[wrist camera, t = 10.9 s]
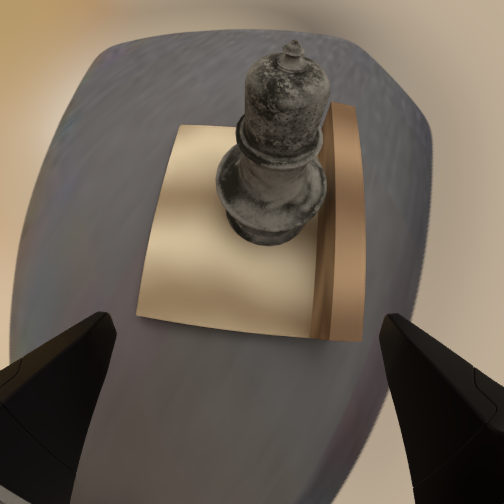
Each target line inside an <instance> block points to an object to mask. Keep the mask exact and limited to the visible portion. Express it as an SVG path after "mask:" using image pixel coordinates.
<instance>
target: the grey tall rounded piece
mask: <svg viewBox="0 0 504 504" xmlns="http://www.w3.org/2000/svg"><path fill="white" fill-rule="evenodd" d="M282 51H283V52H284V53H276V54H271V55H268V56H265V57H263V58H261V59H260V60H258V61H257V62H256V63H255V64H253V65H252V67H251V68H250V69H249V71H248V74H247V77H246V81H245V114H244V115H243V116H242V117H241V118H240V120H239V122H238V123H237V127H236V131H235V135H236V142H237V144H236V145H234V146H233V147H232V148H231V149H230V150H229V151H228V152H227V153H226V154H225V155H224V156H223V158H222V160H221V161H220V163H219V165H218V168H217V173H216V178H215V180H216V190H217V194H218V196H219V199H220V201H221V203H222V205H223V206H224V208H225V209H226V216H227V219H228V221H229V223H230V226H231V227H232V228H233V229H234V231H235V232H236V233H237V234H238V235H239V236H240V237H242V238H243V239H245V240H246V241H248V242H251V243H253V244H256V245H261V246H275V245H281V244H283V243H286V242H288V241H290V240H292V239H293V238H294V237H295V236H297V235H298V234H299V233H300V231H301V230H302V229H303V227H304V226H305V223H306V222H308V221H309V220H310V219H312V218H313V217H314V216H315V215H316V214H317V212H318V211H319V209H320V208H321V207H322V205H323V202H324V199H325V196H326V193H327V179H326V176H325V173H324V169H323V167H322V165H321V164H320V162H319V160H318V159H317V157H316V156H317V155H318V154H319V152H320V150H321V147H322V144H323V134H322V131H321V128H320V125H319V124H320V121H321V118H322V115H323V112H324V109H325V106H326V103H327V100H328V97H329V94H330V86H329V80H328V78H327V75H326V74H325V72H324V70H323V69H322V68H321V67H320V66H319V65H318V64H317V63H315V62H314V61H313V60H311V59H309V58H306V57H304V56H302V55H304V54H305V50H304V49H303V48H302V47H301V45H300V44H299V43H298V41H297V40H292V42H289V43H288V44H287V45H285V46H283V47H282Z"/></svg>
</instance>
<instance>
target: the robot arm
mask: <svg viewBox="0 0 504 504" xmlns="http://www.w3.org/2000/svg"><path fill="white" fill-rule="evenodd" d="M116 336H117V333H116V329H115V326H114V324H113V321H112V318H111V316H110V314H109V313H107V312H100V311H99V312H96V313H94V314H93V315H91V316H89V317H88V318H86V319H84V320H83V321H81V322H79V323H78V324H76V325H74V326H73V327H71V328H69V329H68V330H66V331H64V332H63V333H61V334H59V335H58V336H56V337H54V338H53V339H51V340H49V341H48V342H46V343H45V344H43V345H41V346H40V347H38V348H36V349H35V350H33V351H32V352H30V353H28V354H27V355H25V356H24V357H23V358H20V359H19V360H17V361H16V362H14V363H12V364H11V365H9V366H7V367H6V368H4V369H3V370H0V504H70V499H71V494H72V490H73V485H74V481H75V477H76V472H77V468H78V464H79V460H80V456H81V453H82V449H83V445H84V442H85V438H86V435H87V432H88V428H89V425H90V422H91V419H92V415H93V412H94V409H95V406H96V403H97V400H98V397H99V394H100V391H101V388H102V386H103V383H104V380H105V377H106V374H107V371H108V367H109V363H110V359H111V355H112V351H113V348H114V344H115V340H116ZM379 341H380V346H381V351H382V356H383V361H384V366H385V372H386V377H387V381H388V385H389V388H390V392H391V395H392V399H393V402H394V406H395V410H396V414H397V417H398V421H399V425H400V429H401V433H402V437H403V442H404V446H405V451H406V455H407V460H408V464H409V469H410V474H411V480H412V485H413V487H414V488H413V492H414V499H415V504H504V387H503V386H501V385H500V384H498V383H497V382H495V381H493V380H492V379H491V378H489V377H488V376H486V375H485V374H484V373H482V372H481V371H479V370H478V369H477V368H475V367H474V368H473V366H472V365H471V364H470V363H468V362H467V361H466V360H464V359H463V358H461V357H460V356H459V355H457V354H456V353H454V352H453V351H451V350H450V349H449V348H447V347H446V346H445V345H443V344H442V343H440V342H439V341H437V340H436V339H435V338H433V337H431V336H430V335H429V334H427V333H426V332H424V331H423V330H422V329H420V328H419V327H417V326H416V325H414V324H413V323H411V322H410V321H408V320H407V319H406V318H404V317H403V316H401V315H400V314H398V313H393V314H387V315H386V316H385V317H384V321H383V324H382V327H381V330H380V334H379Z"/></svg>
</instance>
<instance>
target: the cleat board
mask: <svg viewBox="0 0 504 504" xmlns="http://www.w3.org/2000/svg"><path fill="white" fill-rule="evenodd" d="M235 131H236V128H234V127H220V126H200V125H180V128H179V131H178V134H177V137H176V140H175V143H174V146H173V150H172V153H171V156H170V160H169V163H168V167H167V170H166V174H165V177H164V181H163V185H162V188H161V192H160V196H159V200H158V204H157V208H156V212H155V217H154V221H153V225H152V230H151V234H150V239H149V244H148V248H147V253H146V258H145V264H144V269H143V275H142V280H141V286H140V292H139V299H138V305H137V312H136V315H138V316H143V317H149V318H154V319H159V320H165V321H171V322H177V323H183V324H189V325H196V326H202V327H209V328H217V329H224V330H232V331H240V332H249V333H258V334H268V335H279V336H290V337H303V338H314V339H322V340H331V341H356V342H362V331H363V317H364V300H365V272H366V230H365V202H364V185H363V172H362V160H361V150H360V141H359V133H358V125H357V118H356V111H355V107H354V106H350V105H345V104H340V103H336V102H331V104H330V107H329V110H328V112H327V115H326V118H325V121H324V124H323V126H322V129H321V131H322V134H323V144H322V147H321V150H320V152H319V154H318V155H317V156H316V157H317V159H318V160H319V162H320V164H321V165H322V167H323V169H324V173H325V176H326V179H327V193H326V196H325V199H324V202H323V205H322V207H321V208H320V209H319V211H318V212H317V214H316V215H315V216H314V217H313V218H312V219H310V220H309V221H308V222H306V223H305V226H304V227H303V229H302V230H301V231H300V233H299V234H298V235H297V236H295V237H294V238H293V239H292V240H290V241H288V242H286V243H283V244H281V245H275V246H261V245H256V244H253V243H251V242H248V241H246V240H245V239H243V238H242V237H240V236H239V235H238V234H237V233H236V232H235V231H234V229H233V228H232V227H231V226H230V223H229V221H228V219H227V216H226V209H225V208H224V206H223V205H222V203H221V201H220V199H219V196H218V194H217V190H216V180H215V178H216V173H217V168H218V165H219V163H220V161H221V160H222V158H223V156H224V155H225V154H226V153H227V152H228V151H229V150H230V149H231V148H232V147H233V146H234V145H236V144H237V142H236V135H235Z"/></svg>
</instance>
